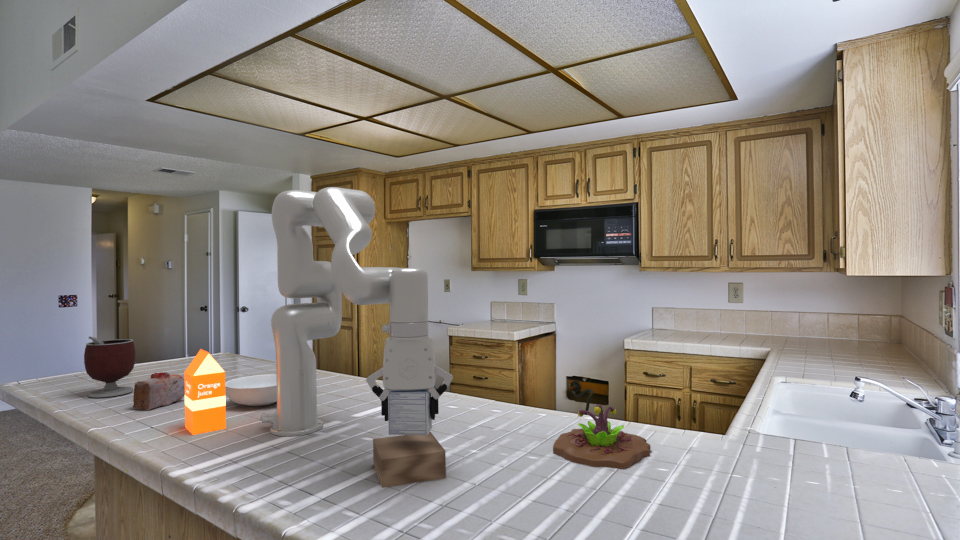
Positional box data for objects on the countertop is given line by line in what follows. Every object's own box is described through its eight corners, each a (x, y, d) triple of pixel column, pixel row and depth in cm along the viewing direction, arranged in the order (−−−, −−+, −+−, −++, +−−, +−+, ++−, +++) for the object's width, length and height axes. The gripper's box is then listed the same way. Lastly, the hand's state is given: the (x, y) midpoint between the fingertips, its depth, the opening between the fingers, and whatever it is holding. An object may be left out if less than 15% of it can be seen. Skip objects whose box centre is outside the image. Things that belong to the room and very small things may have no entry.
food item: (168, 398, 162) (167, 367, 162) (189, 399, 160) (189, 368, 160) (130, 410, 148) (129, 376, 148) (152, 411, 147) (152, 377, 147)
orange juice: (192, 436, 124) (191, 354, 124) (184, 427, 130) (183, 350, 130) (226, 429, 129) (225, 350, 129) (217, 421, 136) (216, 346, 136)
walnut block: (381, 492, 92) (381, 459, 92) (373, 468, 103) (373, 438, 103) (445, 482, 96) (445, 450, 96) (431, 460, 107) (430, 431, 107)
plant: (539, 460, 106) (538, 407, 106) (572, 433, 123) (572, 387, 123) (635, 480, 96) (635, 421, 96) (658, 448, 113) (657, 397, 113)
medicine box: (432, 429, 102) (432, 386, 102) (428, 436, 97) (427, 391, 97) (394, 428, 103) (393, 385, 102) (387, 435, 98) (387, 390, 98)
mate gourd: (106, 388, 177) (105, 330, 177) (145, 387, 176) (144, 330, 176) (69, 399, 161) (68, 336, 161) (111, 399, 161) (110, 336, 161)
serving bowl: (312, 399, 158) (312, 377, 158) (251, 416, 141) (250, 391, 141) (270, 391, 169) (270, 370, 169) (209, 406, 152) (208, 383, 152)
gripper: (361, 333, 96) (362, 425, 96) (453, 331, 97) (454, 423, 97) (367, 329, 103) (368, 414, 103) (453, 327, 104) (454, 411, 104)
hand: (410, 418), depth 100 cm, fingers closed on medicine box, 8 cm apart
